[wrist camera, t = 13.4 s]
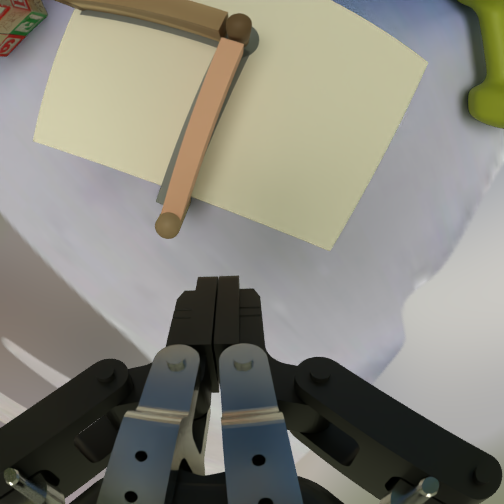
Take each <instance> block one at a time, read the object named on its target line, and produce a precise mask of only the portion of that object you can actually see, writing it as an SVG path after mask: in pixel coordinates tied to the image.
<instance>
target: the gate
mask: <svg viewBox="0 0 504 504" xmlns="http://www.w3.org/2000/svg"><path fill="white" fill-rule="evenodd" d="M243 48H244V44H242V43H239V42H236V41H233V40H229V39H226V38H223V37H221V40H220V42H219V44H218V47H217V49H216V52H215V54H214V56H213V59H212V61H211V64H210V66H209V69H208V72H207V74H206V77H205V79H204V82H203V85H202V87H201V90H200V93H199V95H198V98H197V101H196V104H195V106H194V109H193V112H192V115H191V118H190V121H189V123H188V126H187V129H186V132H185V135H184V138H183V141H182V145H181V148H180V151H179V154H178V157H177V160H176V164H175V167H174V170H173V173H172V177H171V180H170V184H169V187H168V191H167V194H166V198H165V201H164V205H163V209H162V212H161V214H160V216H159V217H158V219H157V221H156V223H155V229H156V232H157V233H158V234H159V235H160V236H161V237H163V238H166V239H171V238H174V237H175V236H177V234H178V233H179V231H180V228H181V225H182V223H183V220H184V218H185V216H186V213H187V211H188V208H189V206H190V203H191V194H192V191H193V188H194V185H195V182H196V179H197V176H198V173H199V170H200V167H201V164H202V161H203V158H204V155H205V152H206V149H207V147H208V144H209V141H210V138H211V135H212V133H213V130H214V127H215V124H216V122H217V119H218V116H219V113H220V111H221V108H222V105H223V103H224V100H225V98H226V95H227V92H228V90H229V87H230V85H231V82H232V80H233V77H234V75H235V72H236V70H237V67H238V65H239V63H240V60H241V58H242V55H243Z"/></svg>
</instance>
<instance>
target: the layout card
mask: <svg viewBox="0 0 504 504" xmlns="http://www.w3.org/2000/svg"><path fill="white" fill-rule="evenodd" d="M189 1H193V2H197V3H200V4H204V5H207V6H210V7H214V8H217V9H220V10H223V11H226V12H228V16H229V17H230V16H231V15H233V14H237V13H242V14H245V15H247V16H248V17H249V18H250V19H251V21H252V28H251V33H250V39H249V43H248V45H247V46H246V47H244V48H243V55H242V58H241V60H240V63H239V65H238V67H237V70H236V72H235V75H234V77H233V80H232V82H231V85H230V87H229V90H228V92H227V95H226V98H225V100H224V103H223V105H222V108H221V111H220V113H219V116H218V119H217V122H216V124H215V127H214V130H213V133H212V135H211V138H210V141H209V144H208V147H207V149H206V152H205V155H204V158H203V161H202V164H201V167H200V170H199V173H198V176H197V179H196V182H195V185H194V188H193V191H192V194H191V197H193V198H196V199H199V200H201V201H204V202H207V203H209V204H212V205H215V206H217V207H220V208H222V209H225V210H228V211H230V212H233V213H235V214H238V215H241V216H243V217H246V218H248V219H251V220H253V221H256V222H258V223H261V224H264V225H266V226H269V227H271V228H274V229H276V230H279V231H281V232H284V233H286V234H289V235H291V236H294V237H296V238H299V239H301V240H304V241H306V242H308V243H311V244H313V245H316V246H318V247H321V248H323V249H326V250H328V251H330V250H331V249H332V247H333V245H334V244H335V242H336V240H337V238H338V237H339V235H340V233H341V232H342V230H343V228H344V226H345V225H346V223H347V221H348V219H349V218H350V216H351V214H352V212H353V211H354V209H355V207H356V205H357V203H358V202H359V200H360V198H361V196H362V194H363V193H364V191H365V189H366V187H367V185H368V184H369V182H370V180H371V178H372V176H373V174H374V172H375V171H376V169H377V167H378V165H379V163H380V161H381V159H382V157H383V155H384V153H385V151H386V150H387V148H388V146H389V144H390V142H391V140H392V138H393V136H394V134H395V132H396V130H397V128H398V126H399V124H400V122H401V120H402V118H403V116H404V114H405V112H406V110H407V108H408V105H409V103H410V101H411V99H412V97H413V95H414V93H415V91H416V89H417V86H418V84H419V82H420V80H421V78H422V76H423V73H424V71H425V69H426V67H427V64H428V62H427V61H425V60H424V59H423V58H422V57H420V56H419V55H418V54H416V53H415V52H414V51H412V50H411V49H410V48H408V47H407V46H405V45H404V44H403V43H401V42H400V41H398V40H397V39H395V38H394V37H392V36H391V35H389V34H388V33H386V32H385V31H383V30H382V29H380V28H379V27H377V26H375V25H374V24H372V23H371V22H369V21H367V20H366V19H364V18H362V17H361V16H359V15H357V14H355V13H354V12H352V11H350V10H348V9H346V8H345V7H343V6H341V5H339V4H337V3H335V2H333V1H331V0H189ZM225 38H226V39H228V34H227V35H226V37H225ZM218 44H219V42H218V41H215V40H212V39H209V38H206V37H203V36H200V35H197V34H194V33H190V32H187V31H183V30H180V29H176V28H173V27H169V26H165V25H162V24H158V23H154V22H149V21H145V20H141V19H136V18H131V17H127V16H121V15H116V14H111V13H105V12H98V11H92V10H85V11H81V10H78V9H76V8H75V10H74V12H73V14H72V16H71V19H70V21H69V23H68V26H67V28H66V31H65V33H64V36H63V38H62V41H61V43H60V46H59V49H58V52H57V54H56V57H55V60H54V63H53V66H52V69H51V72H50V75H49V79H48V82H47V85H46V89H45V92H44V96H43V100H42V103H41V107H40V111H39V115H38V120H37V124H36V129H35V133H34V138H33V141H34V142H37V143H40V144H43V145H47V146H50V147H53V148H56V149H59V150H62V151H65V152H67V153H70V154H73V155H76V156H79V157H82V158H85V159H88V160H91V161H94V162H97V163H100V164H102V165H105V166H108V167H111V168H114V169H117V170H119V171H122V172H125V173H128V174H131V175H133V176H136V177H139V178H142V179H145V180H147V181H150V182H153V183H156V184H158V185H161V188H160V191H159V194H158V197H157V200H156V202H157V203H160V204H163V205H164V201H165V198H166V194H167V191H168V187H169V184H170V180H171V177H172V173H173V170H174V167H175V164H176V160H177V157H178V154H179V151H180V148H181V145H182V141H183V138H184V135H185V132H186V129H187V126H188V123H189V121H190V118H191V115H192V112H193V109H194V106H195V104H196V101H197V98H198V95H199V93H200V90H201V87H202V85H203V82H204V79H205V77H206V74H207V72H208V69H209V66H210V64H211V61H212V59H213V56H214V54H215V52H216V49H217V47H218Z"/></svg>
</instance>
